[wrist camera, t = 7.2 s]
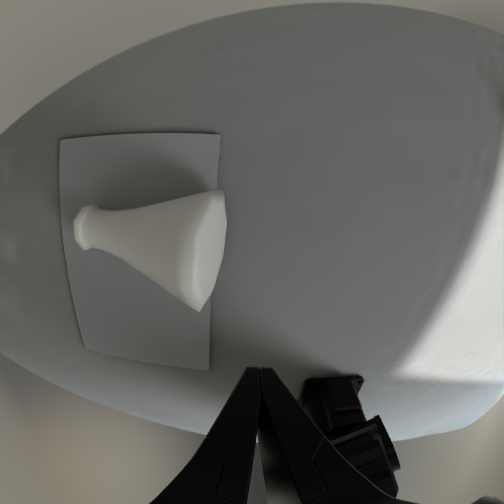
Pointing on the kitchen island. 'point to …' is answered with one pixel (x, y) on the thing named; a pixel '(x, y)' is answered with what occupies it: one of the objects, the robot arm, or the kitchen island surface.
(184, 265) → the flask
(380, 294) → the kitchen island surface
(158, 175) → the mat
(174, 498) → the robot arm
